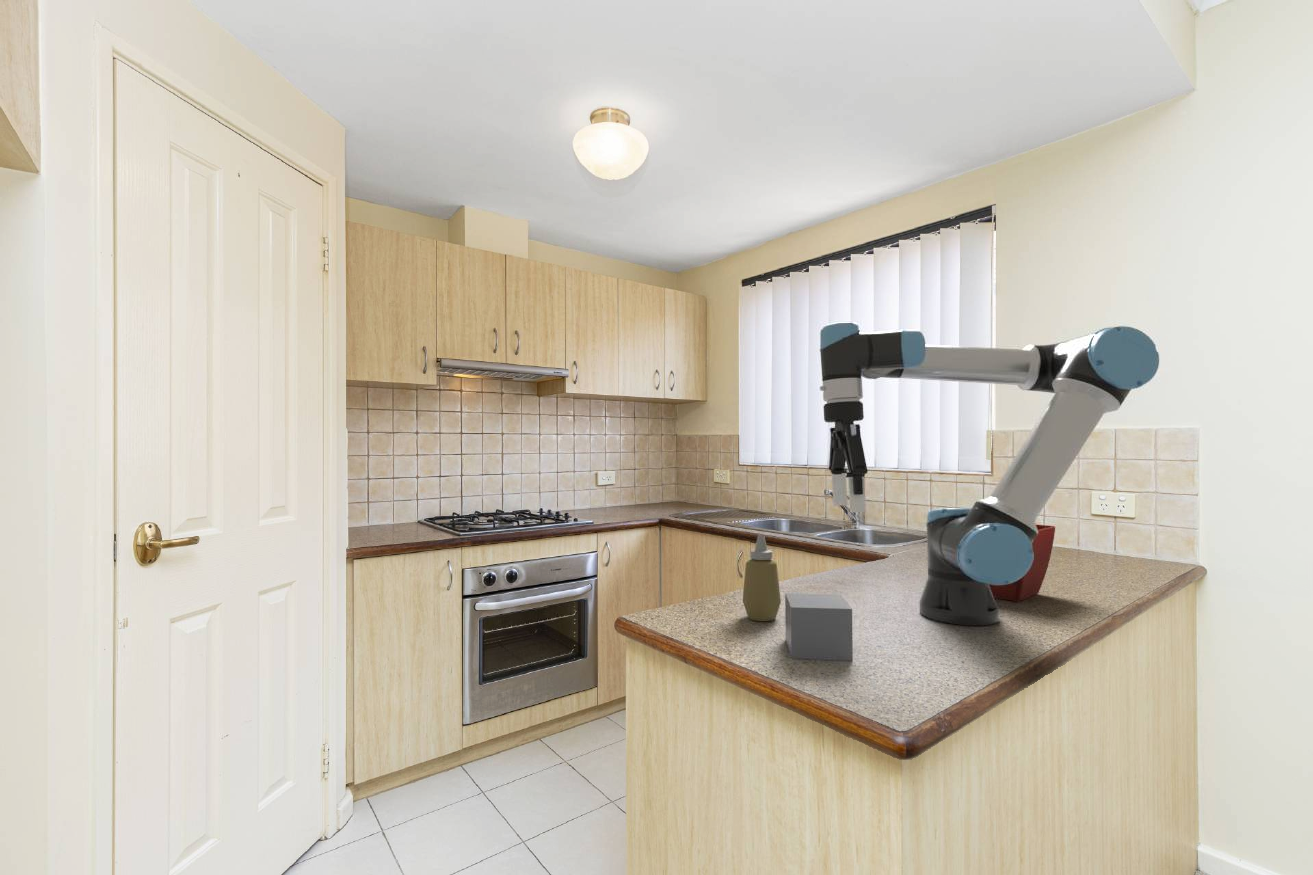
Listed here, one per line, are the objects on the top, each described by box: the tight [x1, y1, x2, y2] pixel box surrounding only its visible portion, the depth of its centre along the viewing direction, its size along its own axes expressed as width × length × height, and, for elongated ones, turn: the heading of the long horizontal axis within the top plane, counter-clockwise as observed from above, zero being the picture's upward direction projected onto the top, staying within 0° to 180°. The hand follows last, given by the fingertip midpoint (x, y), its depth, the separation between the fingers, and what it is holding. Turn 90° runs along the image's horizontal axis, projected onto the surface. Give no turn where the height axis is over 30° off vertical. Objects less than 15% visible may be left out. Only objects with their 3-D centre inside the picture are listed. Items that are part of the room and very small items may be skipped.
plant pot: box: [989, 524, 1056, 602], centre depth 147 cm, size 19×19×17 cm
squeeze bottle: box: [742, 532, 782, 622], centre depth 126 cm, size 8×8×18 cm
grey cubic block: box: [784, 592, 854, 662], centre depth 106 cm, size 10×10×9 cm
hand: (848, 508), depth 117 cm, fingers open, 13 cm apart
